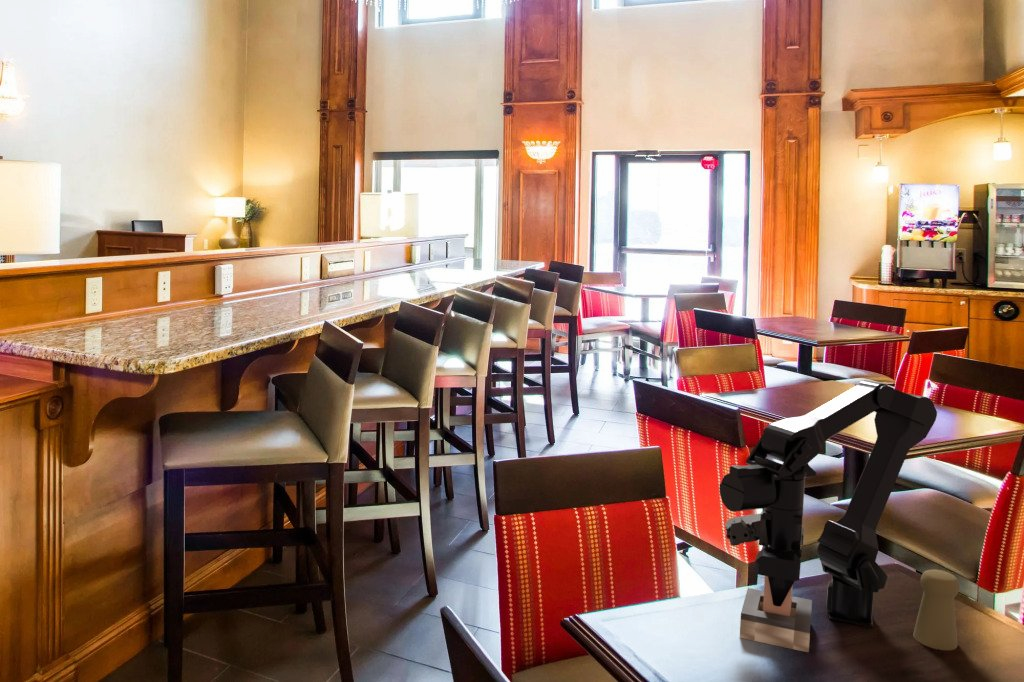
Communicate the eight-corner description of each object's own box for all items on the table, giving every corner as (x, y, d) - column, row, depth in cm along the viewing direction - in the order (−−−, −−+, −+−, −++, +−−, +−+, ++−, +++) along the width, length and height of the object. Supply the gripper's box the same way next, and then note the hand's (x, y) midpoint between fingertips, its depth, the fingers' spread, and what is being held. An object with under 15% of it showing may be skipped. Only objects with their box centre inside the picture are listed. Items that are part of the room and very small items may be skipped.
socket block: (810, 623, 118) (812, 600, 117) (808, 652, 108) (810, 627, 108) (746, 610, 122) (747, 587, 121) (739, 637, 112) (740, 613, 112)
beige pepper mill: (964, 652, 109) (970, 583, 108) (920, 647, 111) (926, 578, 110) (948, 633, 115) (954, 567, 114) (907, 628, 117) (912, 563, 115)
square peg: (790, 621, 116) (794, 561, 115) (789, 632, 112) (792, 570, 111) (764, 616, 118) (767, 556, 117) (762, 626, 114) (765, 565, 113)
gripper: (737, 482, 125) (732, 568, 126) (722, 514, 108) (717, 614, 109) (806, 491, 120) (801, 581, 122) (802, 526, 103) (796, 630, 105)
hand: (777, 600), depth 114 cm, fingers closed on square peg, 4 cm apart
